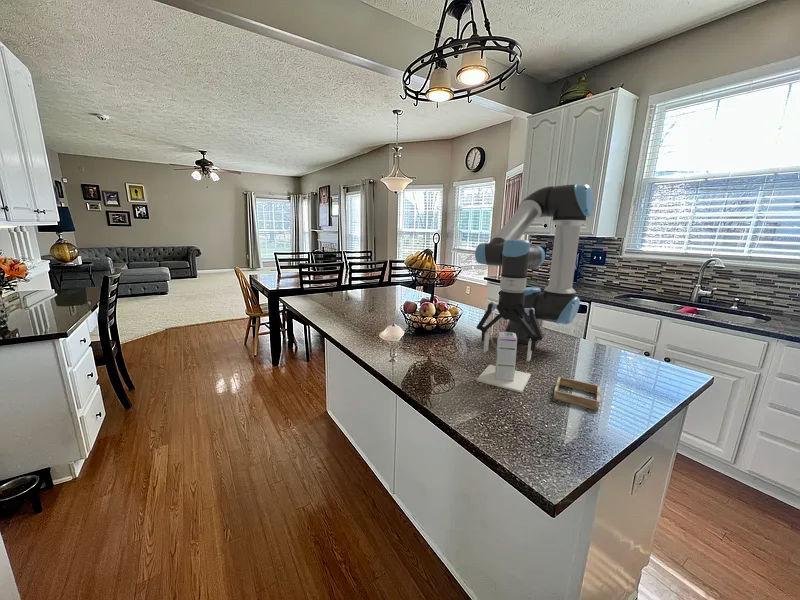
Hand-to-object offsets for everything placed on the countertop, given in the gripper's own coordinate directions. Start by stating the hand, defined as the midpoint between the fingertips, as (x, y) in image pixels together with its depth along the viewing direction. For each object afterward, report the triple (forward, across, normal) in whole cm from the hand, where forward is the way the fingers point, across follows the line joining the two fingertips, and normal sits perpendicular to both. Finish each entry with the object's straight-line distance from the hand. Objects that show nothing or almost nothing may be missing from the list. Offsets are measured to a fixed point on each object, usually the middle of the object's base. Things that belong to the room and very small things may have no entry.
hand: (506, 355), depth 105 cm
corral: (+8, +21, 0) cm, 22 cm away
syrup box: (+8, 0, 0) cm, 8 cm away
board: (+8, 0, 0) cm, 8 cm away
